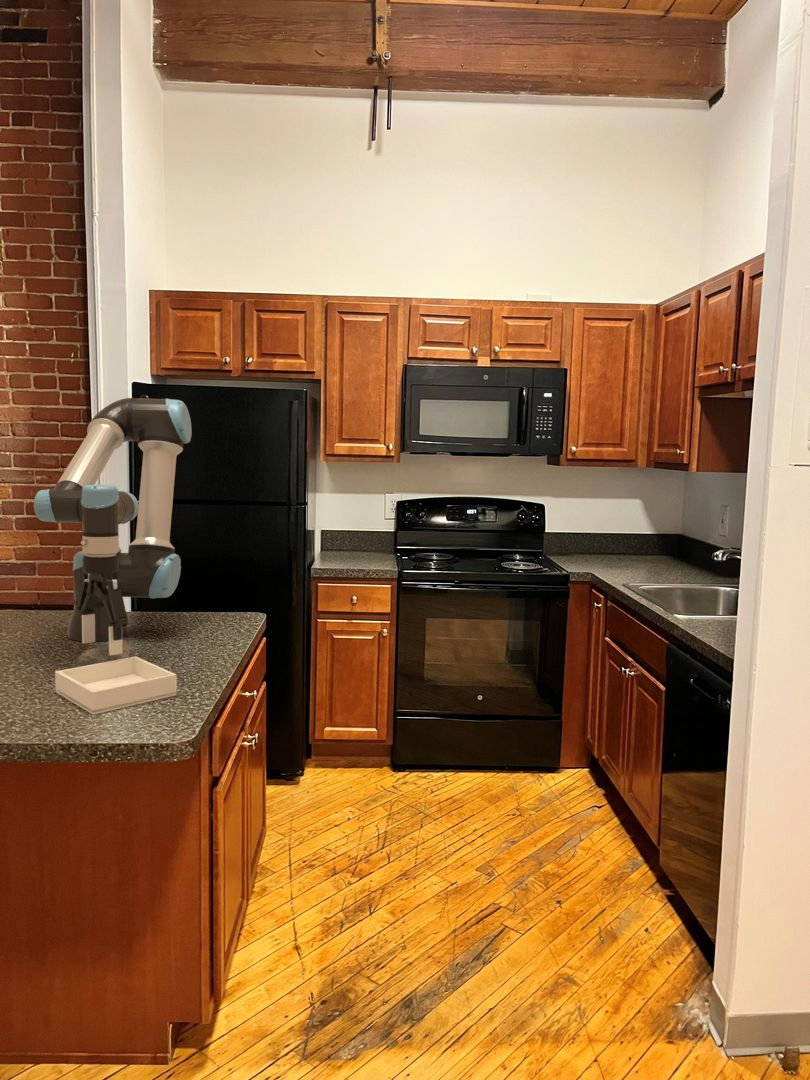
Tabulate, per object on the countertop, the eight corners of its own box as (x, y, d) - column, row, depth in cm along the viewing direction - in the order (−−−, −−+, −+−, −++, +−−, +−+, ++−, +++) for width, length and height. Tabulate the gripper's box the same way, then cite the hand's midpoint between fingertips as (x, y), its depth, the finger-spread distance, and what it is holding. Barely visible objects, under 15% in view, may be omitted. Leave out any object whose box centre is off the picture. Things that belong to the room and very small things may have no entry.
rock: (70, 676, 171) (70, 647, 170) (78, 665, 179) (77, 638, 178) (134, 674, 174) (134, 646, 173) (139, 664, 182) (139, 637, 181)
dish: (55, 692, 160) (55, 671, 160) (136, 675, 173) (135, 656, 172) (93, 714, 148) (92, 692, 148) (176, 695, 161) (176, 674, 160)
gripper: (60, 549, 178) (62, 640, 181) (109, 562, 161) (110, 662, 163) (92, 547, 184) (93, 635, 186) (143, 559, 166) (144, 656, 169)
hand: (101, 648), depth 175 cm, fingers open, 13 cm apart
